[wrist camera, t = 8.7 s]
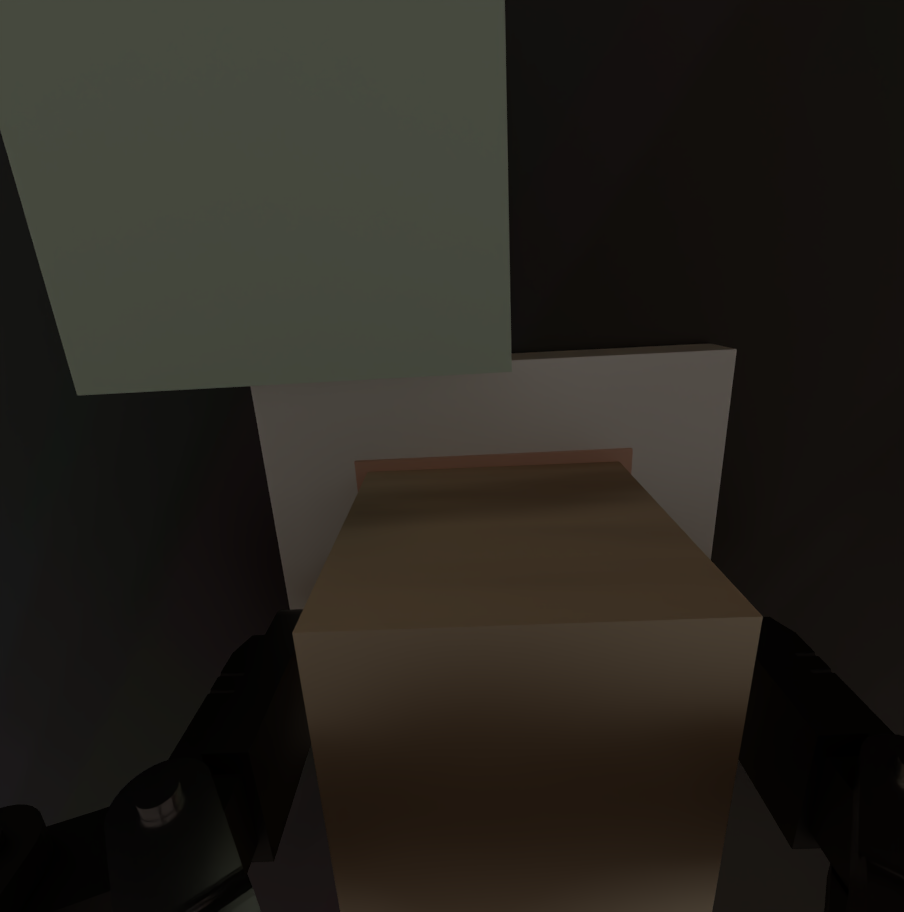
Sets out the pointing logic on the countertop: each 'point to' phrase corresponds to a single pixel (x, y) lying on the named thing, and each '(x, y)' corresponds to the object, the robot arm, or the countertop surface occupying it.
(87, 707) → the countertop surface
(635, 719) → the beech block
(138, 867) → the robot arm
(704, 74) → the countertop surface
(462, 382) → the plate
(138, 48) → the green block
